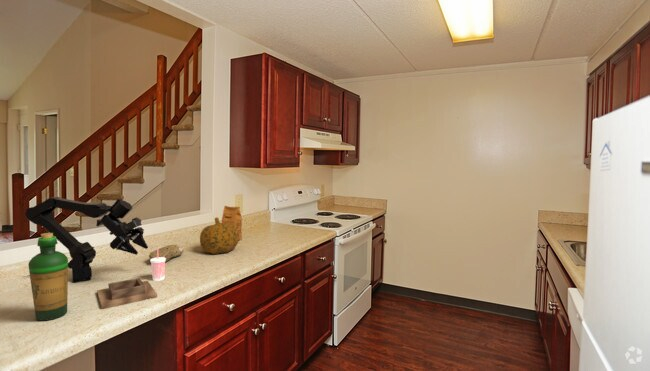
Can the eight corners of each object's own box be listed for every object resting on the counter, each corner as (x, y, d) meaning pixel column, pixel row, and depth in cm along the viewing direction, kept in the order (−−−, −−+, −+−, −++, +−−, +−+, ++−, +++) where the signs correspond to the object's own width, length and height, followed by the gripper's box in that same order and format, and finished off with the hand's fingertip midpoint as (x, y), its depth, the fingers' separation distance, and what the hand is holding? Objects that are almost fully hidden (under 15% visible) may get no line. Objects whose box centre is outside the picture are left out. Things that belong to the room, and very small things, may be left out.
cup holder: (102, 309, 125) (101, 297, 125) (97, 293, 139) (96, 282, 139) (157, 297, 136) (156, 286, 135) (147, 283, 150) (147, 273, 150)
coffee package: (228, 237, 235) (227, 204, 233) (244, 239, 230) (243, 205, 228) (218, 240, 225) (217, 206, 223) (235, 242, 221) (234, 207, 219)
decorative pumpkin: (242, 252, 195) (238, 216, 193) (202, 259, 188) (197, 222, 186) (238, 245, 214) (234, 212, 212) (201, 251, 207) (197, 217, 205)
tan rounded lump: (169, 256, 195) (138, 258, 177) (173, 242, 195) (142, 242, 177) (187, 263, 190) (156, 266, 172) (191, 249, 190) (160, 250, 172)
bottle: (26, 325, 113) (20, 238, 110) (37, 312, 123) (32, 231, 120) (66, 319, 117) (62, 235, 115) (74, 306, 127) (70, 229, 124)
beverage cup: (154, 276, 158) (153, 245, 157) (168, 276, 159) (167, 245, 158) (148, 281, 152) (147, 249, 151) (163, 281, 153) (162, 249, 151)
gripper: (116, 216, 143) (145, 243, 145) (138, 209, 162) (164, 233, 163) (97, 235, 144) (126, 262, 145) (121, 226, 162) (147, 250, 164)
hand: (142, 250), depth 154 cm, fingers open, 9 cm apart
